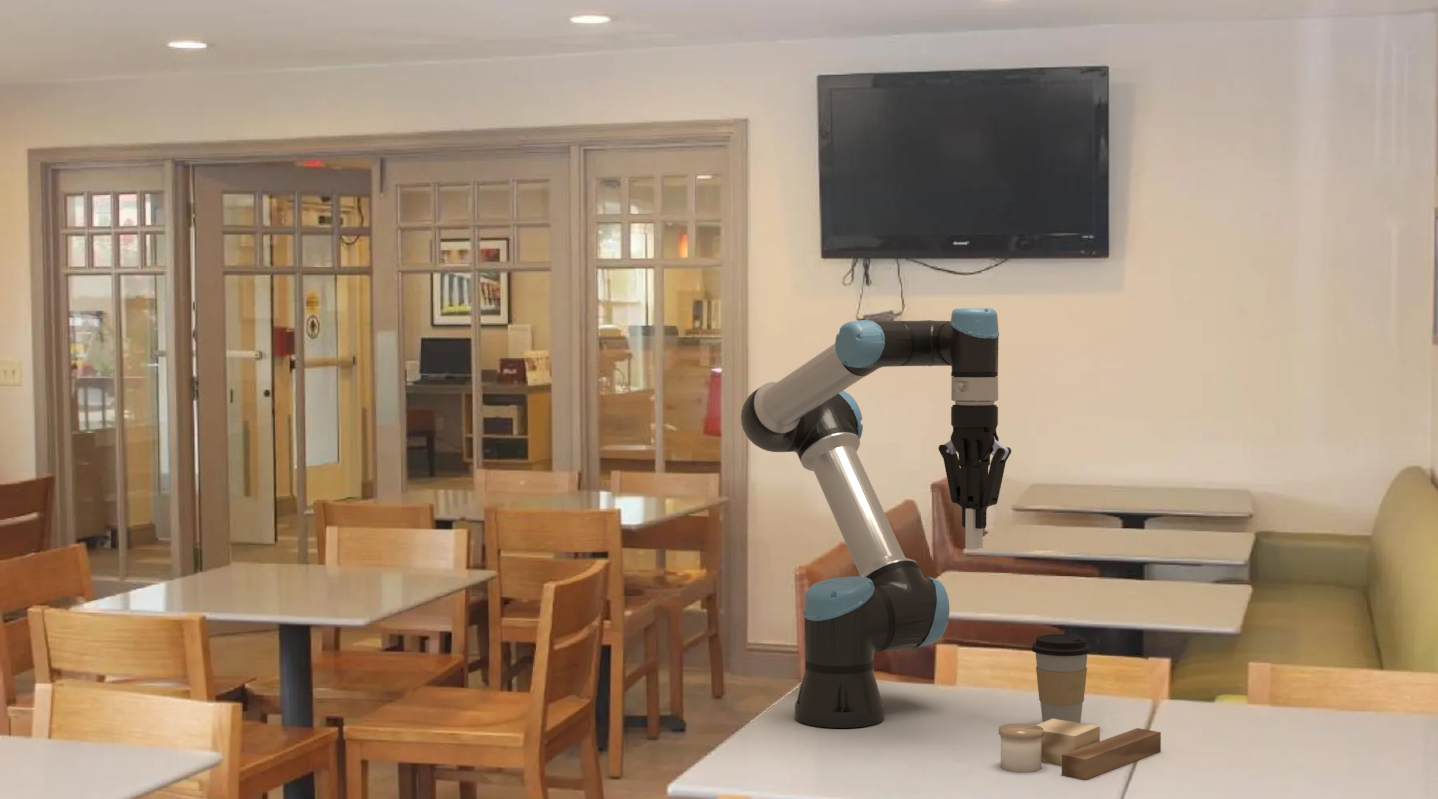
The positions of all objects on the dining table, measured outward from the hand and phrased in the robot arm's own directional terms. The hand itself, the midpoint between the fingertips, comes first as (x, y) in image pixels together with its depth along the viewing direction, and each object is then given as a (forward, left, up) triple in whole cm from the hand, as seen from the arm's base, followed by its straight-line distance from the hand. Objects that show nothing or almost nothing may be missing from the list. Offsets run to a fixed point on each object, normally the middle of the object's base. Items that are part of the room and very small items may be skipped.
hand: (974, 548), depth 263 cm
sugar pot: (+18, -14, -30) cm, 38 cm away
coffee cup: (+10, +10, -30) cm, 33 cm away
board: (+27, -3, -30) cm, 40 cm away
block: (+20, -5, -30) cm, 37 cm away
